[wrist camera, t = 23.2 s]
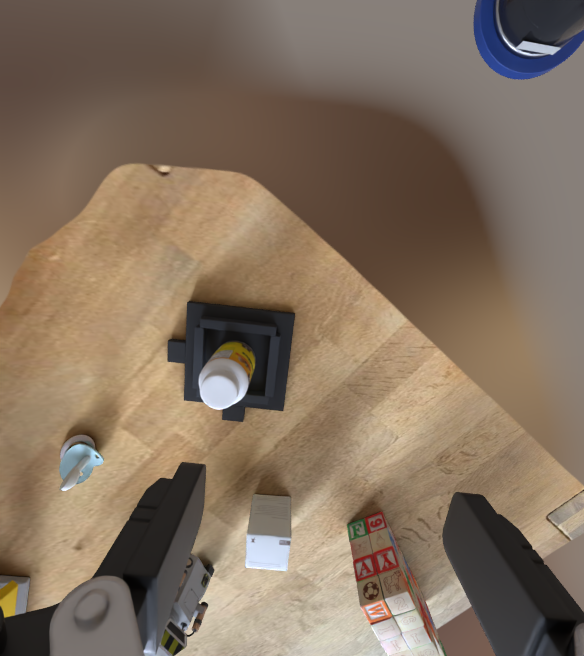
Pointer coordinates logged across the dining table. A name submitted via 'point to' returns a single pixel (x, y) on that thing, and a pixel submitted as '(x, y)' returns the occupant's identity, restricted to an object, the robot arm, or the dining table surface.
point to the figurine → (186, 607)
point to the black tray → (245, 326)
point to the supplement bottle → (227, 375)
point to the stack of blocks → (390, 591)
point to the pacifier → (78, 461)
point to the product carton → (269, 533)
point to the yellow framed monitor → (13, 594)
